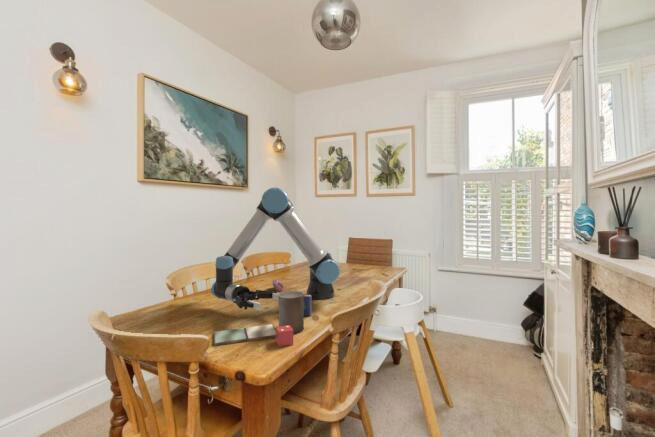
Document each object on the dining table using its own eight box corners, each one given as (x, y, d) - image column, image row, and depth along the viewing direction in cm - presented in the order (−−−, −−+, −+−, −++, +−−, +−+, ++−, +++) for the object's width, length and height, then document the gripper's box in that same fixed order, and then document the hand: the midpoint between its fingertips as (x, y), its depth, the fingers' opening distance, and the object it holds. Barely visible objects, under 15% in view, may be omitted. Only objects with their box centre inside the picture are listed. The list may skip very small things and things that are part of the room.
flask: (312, 315, 134) (312, 290, 133) (310, 317, 131) (310, 292, 131) (292, 313, 136) (292, 289, 136) (290, 315, 133) (290, 291, 133)
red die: (289, 338, 109) (289, 324, 109) (293, 344, 104) (293, 329, 104) (276, 340, 107) (276, 326, 107) (278, 346, 102) (278, 331, 102)
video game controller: (277, 289, 181) (271, 279, 181) (284, 286, 181) (278, 276, 181) (275, 294, 171) (270, 283, 171) (283, 290, 171) (277, 279, 171)
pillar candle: (308, 326, 120) (308, 289, 120) (295, 336, 111) (295, 295, 111) (287, 323, 124) (287, 286, 124) (273, 331, 115) (273, 292, 115)
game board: (273, 325, 121) (273, 323, 121) (278, 336, 110) (278, 334, 110) (214, 333, 113) (214, 331, 113) (214, 346, 103) (214, 343, 103)
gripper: (259, 295, 145) (292, 304, 133) (213, 309, 125) (248, 320, 113) (259, 280, 145) (293, 287, 133) (213, 291, 125) (248, 300, 113)
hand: (272, 302), depth 123 cm, fingers open, 13 cm apart
